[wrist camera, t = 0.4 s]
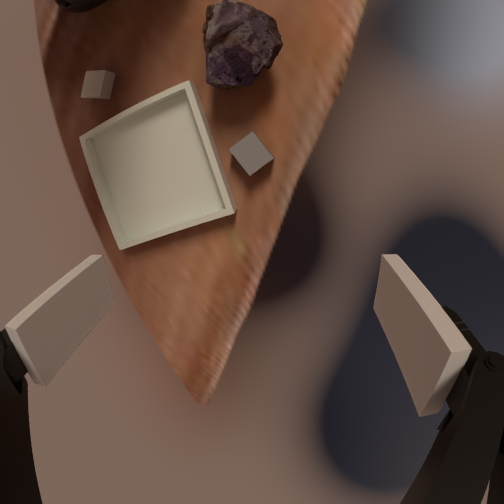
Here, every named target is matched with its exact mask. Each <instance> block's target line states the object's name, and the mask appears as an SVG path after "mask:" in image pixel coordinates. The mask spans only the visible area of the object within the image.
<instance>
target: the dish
mask: <svg viewBox="0 0 504 504" xmlns="http://www.w3.org/2000/svg"><path fill="white" fill-rule="evenodd" d="M79 139H80V143H81V146H82V149H83V153H84V156H85V159H86V162H87V165H88V168H89V171H90V174H91V177H92V180H93V183H94V186H95V189H96V192H97V194H98V197H99V200H100V202H101V205H102V208H103V210H104V213H105V216H106V218H107V221H108V223H109V226H110V228H111V231H112V233H113V235H114V238H115V240H116V243H117V245H118V247H119V249H120V250H122V249H125V248H128V247H131V246H134V245H137V244H140V243H143V242H146V241H149V240H152V239H155V238H158V237H161V236H164V235H167V234H170V233H173V232H176V231H179V230H182V229H185V228H189V227H192V226H195V225H198V224H201V223H205V222H208V221H211V220H214V219H217V218H221V217H224V216H227V215H231V214H234V213H235V211H236V210H237V207H236V204H235V201H234V198H233V195H232V192H231V189H230V186H229V183H228V180H227V177H226V174H225V171H224V168H223V166H222V163H221V160H220V157H219V154H218V151H217V148H216V145H215V142H214V139H213V136H212V133H211V130H210V127H209V124H208V121H207V118H206V115H205V112H204V109H203V106H202V104H201V101H200V98H199V95H198V92H197V89H196V86H195V83H193V82H191V81H190V80H188V81H186V82H183V83H181V84H179V85H176V86H174V87H172V88H169V89H167V90H165V91H163V92H161V93H158V94H156V95H154V96H152V97H150V98H148V99H146V100H144V101H142V102H140V103H138V104H136V105H134V106H132V107H130V108H128V109H126V110H125V111H123V112H121V113H119V114H117V115H115V116H114V117H112V118H110V119H108V120H107V121H105V122H103V123H101V124H100V125H98V126H96V127H95V128H93V129H92V130H90V131H88V132H87V133H85V134H84V135H82V136H80V137H79Z"/></svg>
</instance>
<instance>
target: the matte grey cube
mask: <svg viewBox="0 0 504 504" xmlns="http://www.w3.org/2000/svg"><path fill="white" fill-rule="evenodd" d="M115 74H116V73H113V72H110V71H107V70H96V71H86V74H85V78H84V83H83V88H82V92H81V98H87V99H110V97H111V92H112V87H113V83H114V78H115Z"/></svg>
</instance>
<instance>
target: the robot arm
mask: <svg viewBox="0 0 504 504" xmlns="http://www.w3.org/2000/svg"><path fill="white" fill-rule="evenodd" d="M104 1H105V0H55V2H56V3H57V4H58V5H59V6H60V7H61V8H63V9H65V10H68V11H70V12H82V11H86V10H89V9H91V8H93V7H95V6H97V5H99V4H101V3H102V2H104ZM114 303H115V301H114V298H113V294H112V290H111V286H110V282H109V278H108V274H107V270H106V266H105V261H104V257H103V255H91V256H89V257H88V258H87V259H85V260H84V261H83V262H81V263H80V264H79V265H77V266H76V267H75V268H73V269H72V270H71V271H69V272H68V273H67V274H66V275H65V276H63V277H62V278H61V279H59V280H58V281H57V282H56V283H54V284H53V285H52V286H51V287H49V288H48V289H47V290H46V291H45V292H43V293H42V294H41V295H40V296H38V298H36V299H35V300H34V301H32V302H31V303H30V304H29V305H28V306H27V307H25V308H24V309H23V310H22V311H21V312H20V313H19V314H18V315H16V316H15V317H14V318H13V319H12V320H11V321H10V322H9V323H7V324H6V325H5V329H4V330H3V331H1V332H0V504H42V500H41V496H40V491H39V487H38V482H37V477H36V472H35V466H34V460H33V454H32V446H31V437H30V428H29V413H28V384H27V380H26V379H25V377H24V375H25V374H26V373H27V372H28V373H29V375H30V376H31V378H32V379H33V381H34V383H36V384H39V385H41V386H44V387H47V386H48V384H49V383H50V382H51V381H52V379H53V378H54V377H55V375H56V374H57V373H58V371H59V370H60V369H61V368H62V366H63V365H64V364H65V362H66V361H67V360H68V359H69V357H70V356H71V355H72V354H73V352H74V351H75V350H76V349H77V347H78V346H79V345H80V344H81V342H82V341H83V340H84V339H85V337H86V336H87V335H88V334H89V333H90V332H91V330H92V329H93V328H94V327H95V326H96V324H97V323H98V322H99V321H100V320H101V318H102V317H103V316H104V315H105V314H106V313H107V311H108V310H109V309H110V308H111V307H112V306H113V305H114ZM374 310H375V312H376V315H377V317H378V319H379V321H380V323H381V325H382V328H383V330H384V332H385V334H386V336H387V338H388V341H389V343H390V345H391V348H392V350H393V352H394V354H395V357H396V359H397V361H398V364H399V366H400V368H401V371H402V374H403V376H404V378H405V381H406V383H407V386H408V388H409V391H410V393H411V396H412V399H413V401H414V404H415V407H416V409H417V412H418V415H419V417H421V416H426V415H430V414H434V413H439V411H440V410H441V408H442V406H443V405H444V403H445V401H446V402H447V404H448V406H449V408H450V409H449V411H448V413H447V414H446V416H445V417H444V419H443V421H442V422H441V424H440V425H439V427H438V428H437V429H439V432H438V435H437V437H436V439H435V441H434V443H433V446H432V448H431V450H430V452H429V454H428V456H427V458H426V460H425V462H424V463H423V466H422V467H421V469H420V471H419V473H418V475H417V477H416V478H415V480H414V481H413V483H412V485H411V487H410V488H409V490H408V491H407V493H406V495H405V496H404V498H403V500H402V501H401V503H400V504H481V501H482V499H483V496H484V494H485V491H486V488H487V485H488V482H489V480H490V484H489V492H488V499H487V504H504V356H503V355H501V354H499V353H497V352H493V351H485V350H484V348H483V347H482V346H481V344H480V343H479V342H478V340H477V339H476V337H475V336H474V335H473V334H472V332H471V331H470V330H468V327H467V326H466V324H465V323H463V321H462V319H461V318H460V317H459V316H458V314H457V313H456V312H454V311H453V310H451V309H450V308H448V307H447V306H442V307H441V306H440V305H439V303H438V302H437V301H436V300H435V299H434V297H433V296H432V295H431V293H430V292H429V291H428V290H427V289H426V287H425V286H424V285H423V284H422V283H421V281H420V280H419V279H418V278H417V277H416V276H415V274H414V273H413V272H412V271H411V270H410V268H409V267H408V266H407V265H406V264H405V263H404V262H403V260H402V259H401V258H400V257H399V256H398V255H382V258H381V265H380V273H379V279H378V285H377V291H376V296H375V302H374Z"/></svg>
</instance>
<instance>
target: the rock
mask: <svg viewBox="0 0 504 504" xmlns="http://www.w3.org/2000/svg"><path fill="white" fill-rule="evenodd" d="M202 30H203V33H204V34H205V35H206V38H205V51H206V68H207V69H206V82H207V84H210V85H211V86H214V87H215V88H225V89H229V88H238V87H241V86H250V85H251V84H252V83H253V82H254V81H255V80H256V78H257V77H258V76H259V74H260V72H261V70H262V68H263V67H266V69H270V68H271V66H272V64H273V62H274V59H275V58H276V56H277V55H278V54H279V51H280V50H281V48H282V46H283V42H282V41H281V35H280V33H279V31H278V29H277V24H276V20H275V19H273V18H272V17H271V16H269V15H267V14H266V13H264V12H263V11H259V10H257V9H255V8H254V7H253V6H250V5H247V4H244V3H242V2H239V1H236V0H222V1H221V2H217V3H216V5H209V6H207V11H206V22H205V24H204V25H203V29H202Z"/></svg>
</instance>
